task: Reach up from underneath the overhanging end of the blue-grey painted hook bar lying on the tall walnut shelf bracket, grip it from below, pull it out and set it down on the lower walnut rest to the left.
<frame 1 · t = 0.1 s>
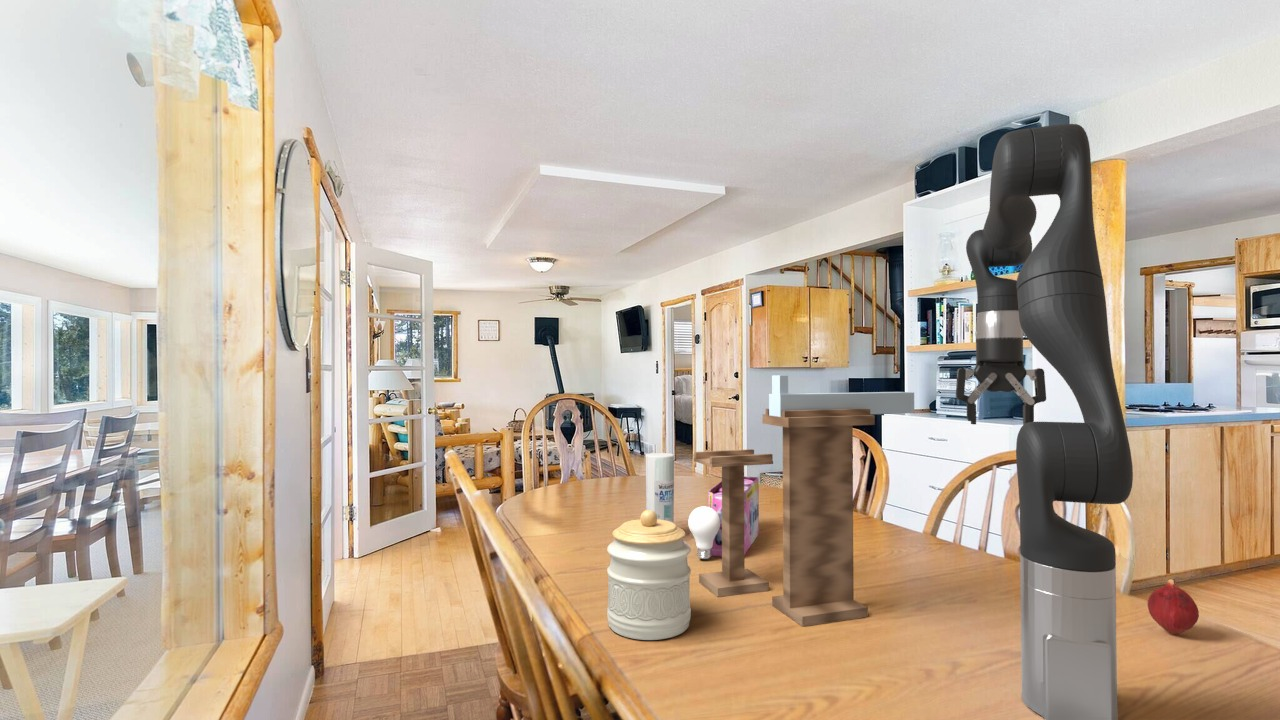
hand: (999, 425, 116), 29 cm above the table, tool pointing down, fingers open, 8 cm apart
light bulb: (704, 560, 131), on the table
spray can: (659, 543, 144), on the table
hook bar: (843, 414, 105), point 32 cm above the table, touching shelf stand
jar: (648, 625, 98), on the table
onion: (1173, 635, 94), on the table
shelf stand: (818, 611, 103), on the table
rest post: (733, 586, 115), on the table
gum box: (734, 544, 143), on the table
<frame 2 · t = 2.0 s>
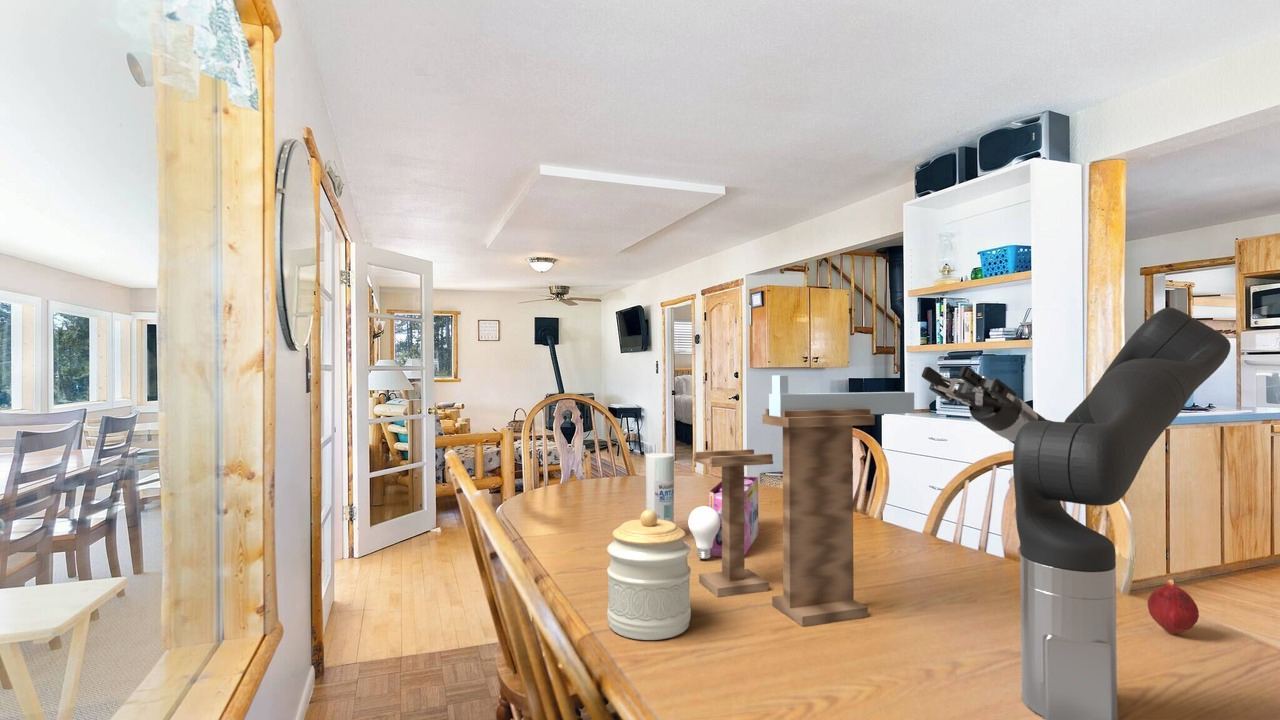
hand: (942, 371, 112), 39 cm above the table, tool pointing upward, fingers open, 8 cm apart
nothing on the table moved.
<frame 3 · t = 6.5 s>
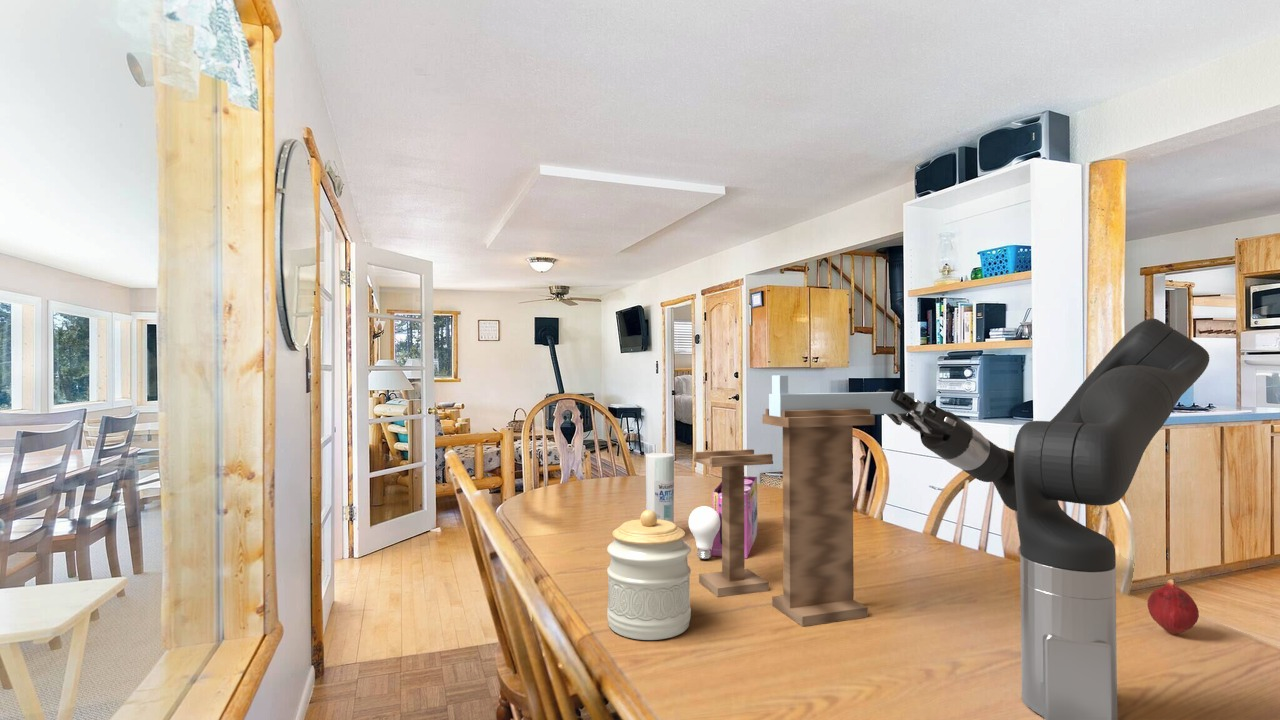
hand: (886, 394, 108), 35 cm above the table, tool pointing upward, fingers closed on hook bar, 3 cm apart
hook bar: (843, 414, 105), point 32 cm above the table, touching gripper, shelf stand
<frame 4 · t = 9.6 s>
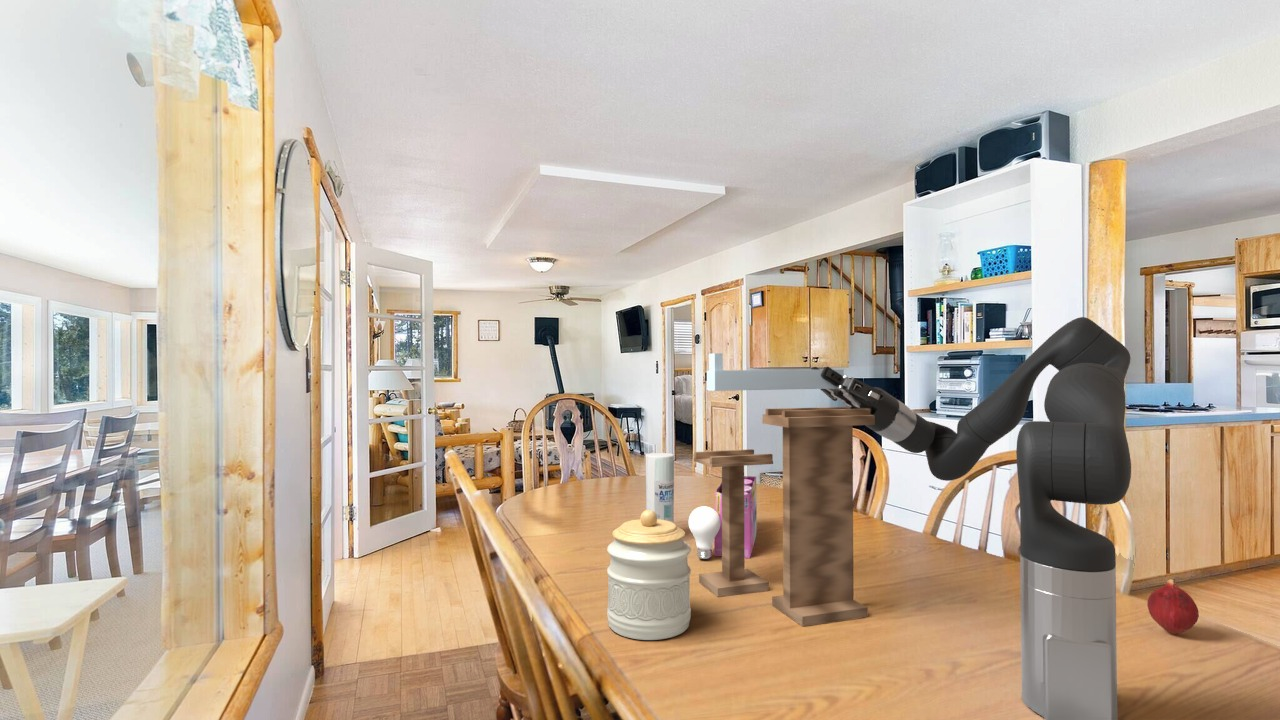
hand: (817, 371, 117), 39 cm above the table, tool pointing upward, fingers closed on hook bar, 3 cm apart
hook bar: (776, 389, 115), point 36 cm above the table, touching gripper
everything else where it was.
when the fingers open (27 cm above the table, at t = 12.7 s): hook bar stays where it is, resting on rest post.
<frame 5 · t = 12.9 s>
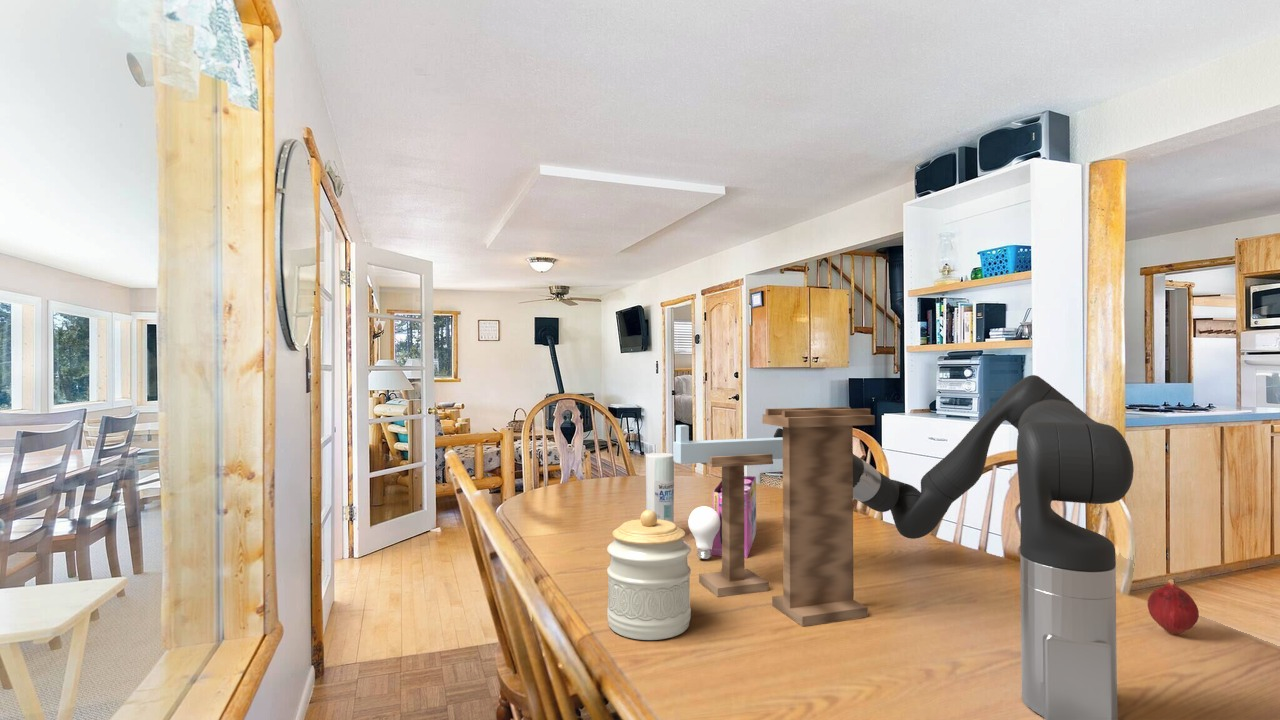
hand: (784, 434, 118), 27 cm above the table, tool pointing upward, fingers open, 5 cm apart
hook bar: (742, 459, 116), point 23 cm above the table, touching rest post
everything else where it was.
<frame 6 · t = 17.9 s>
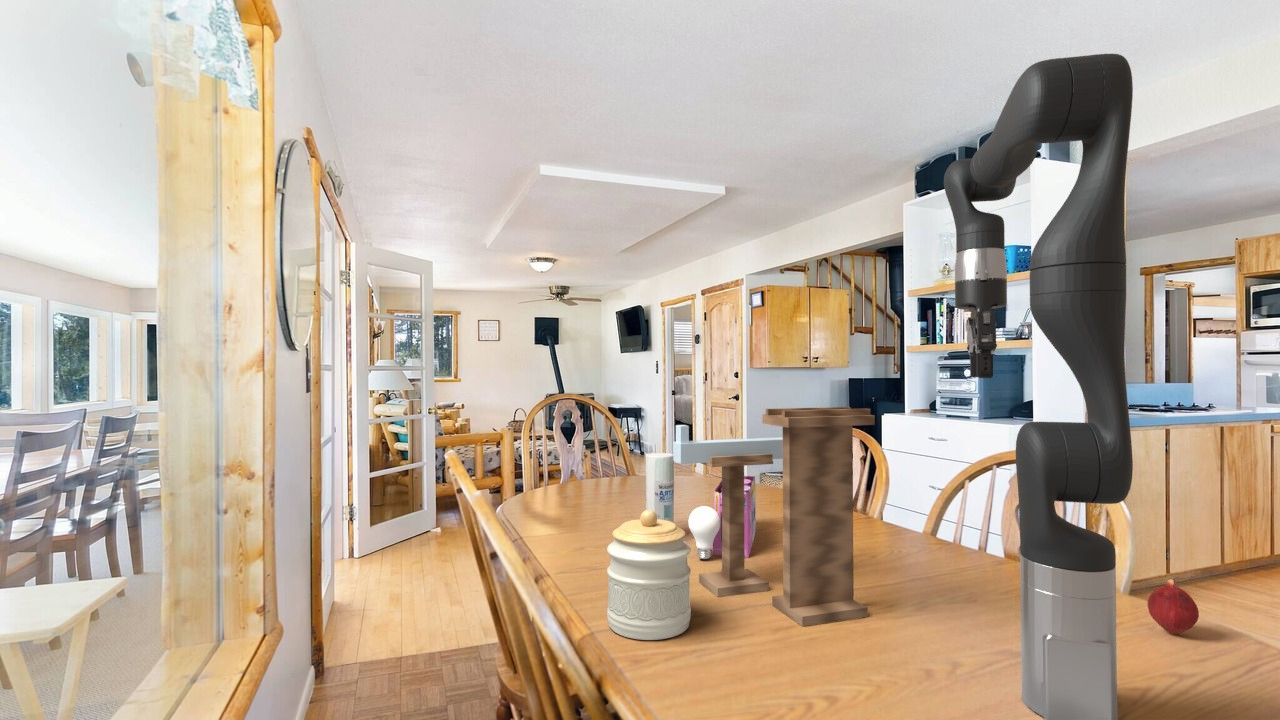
hand: (981, 377, 103), 38 cm above the table, tool pointing down, fingers open, 8 cm apart
nothing on the table moved.
at the end: hook bar inside the target area on the rest post (2.1 cm from its centre), point 23.0 cm above the rest post's base; hook bar touching rest post; the gripper is holding nothing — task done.
